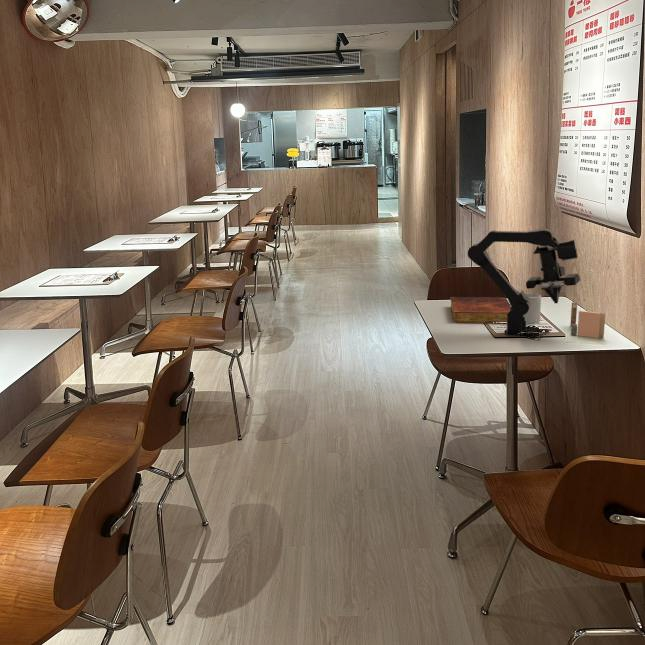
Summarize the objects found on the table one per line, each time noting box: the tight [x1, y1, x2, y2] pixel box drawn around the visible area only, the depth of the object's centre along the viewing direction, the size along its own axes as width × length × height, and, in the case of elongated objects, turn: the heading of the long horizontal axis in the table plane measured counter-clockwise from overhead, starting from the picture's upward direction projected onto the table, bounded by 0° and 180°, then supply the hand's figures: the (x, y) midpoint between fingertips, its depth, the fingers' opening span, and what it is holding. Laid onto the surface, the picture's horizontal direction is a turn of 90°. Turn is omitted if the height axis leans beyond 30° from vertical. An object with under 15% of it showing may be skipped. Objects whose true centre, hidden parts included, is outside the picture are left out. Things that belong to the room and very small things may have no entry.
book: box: [449, 296, 511, 324], centre depth 334 cm, size 30×24×5 cm
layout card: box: [564, 325, 606, 345], centre depth 300 cm, size 14×25×1 cm, turn 164°
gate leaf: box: [577, 310, 606, 339], centre depth 295 cm, size 2×9×9 cm, turn 54°
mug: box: [523, 292, 542, 325], centre depth 322 cm, size 12×8×11 cm
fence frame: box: [569, 301, 578, 336], centre depth 305 cm, size 2×16×10 cm, turn 164°
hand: (556, 303), depth 299 cm, fingers closed
